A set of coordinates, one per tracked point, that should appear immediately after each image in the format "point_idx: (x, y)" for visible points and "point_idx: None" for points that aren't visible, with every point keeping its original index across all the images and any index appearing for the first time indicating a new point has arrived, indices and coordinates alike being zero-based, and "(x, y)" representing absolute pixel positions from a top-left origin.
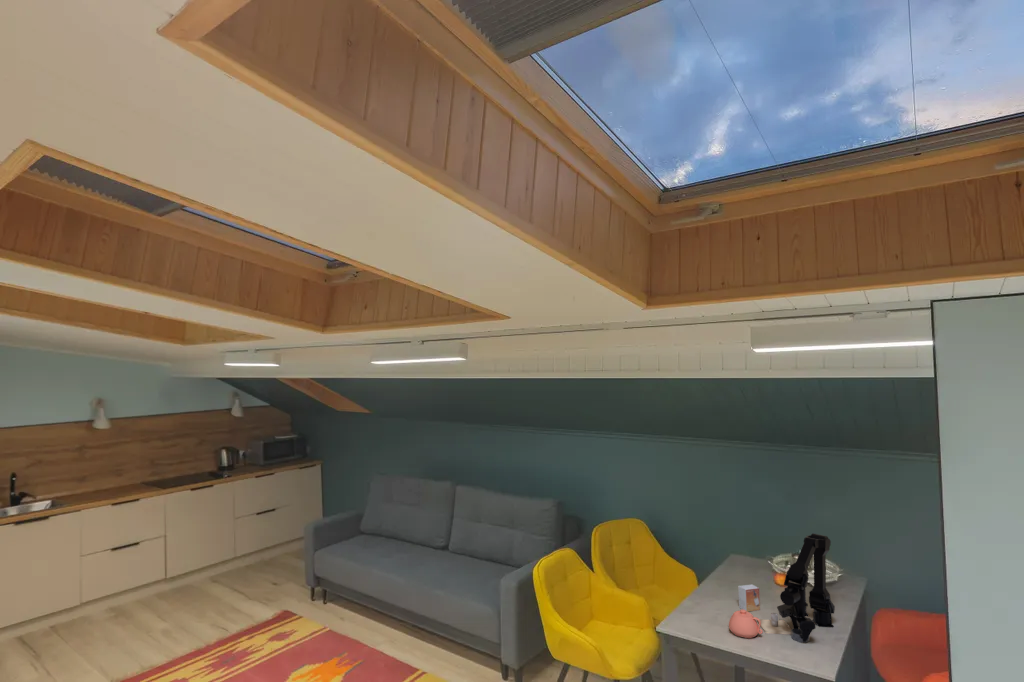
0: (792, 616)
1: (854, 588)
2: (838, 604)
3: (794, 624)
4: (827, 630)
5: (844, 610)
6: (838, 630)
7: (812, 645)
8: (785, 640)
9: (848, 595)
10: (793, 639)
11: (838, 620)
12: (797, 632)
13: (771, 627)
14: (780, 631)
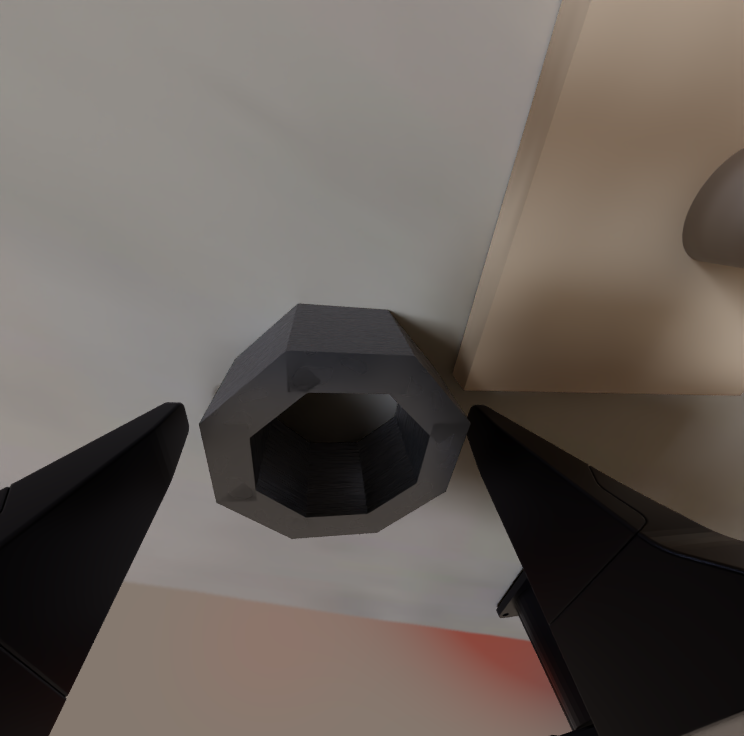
0: (701, 628)
1: None
2: None
3: (530, 476)
4: (467, 584)
5: None
6: (455, 616)
7: (180, 456)
8: (270, 148)
9: None
10: (301, 305)
11: None
12: (411, 423)
13: (732, 77)
14: (535, 192)
